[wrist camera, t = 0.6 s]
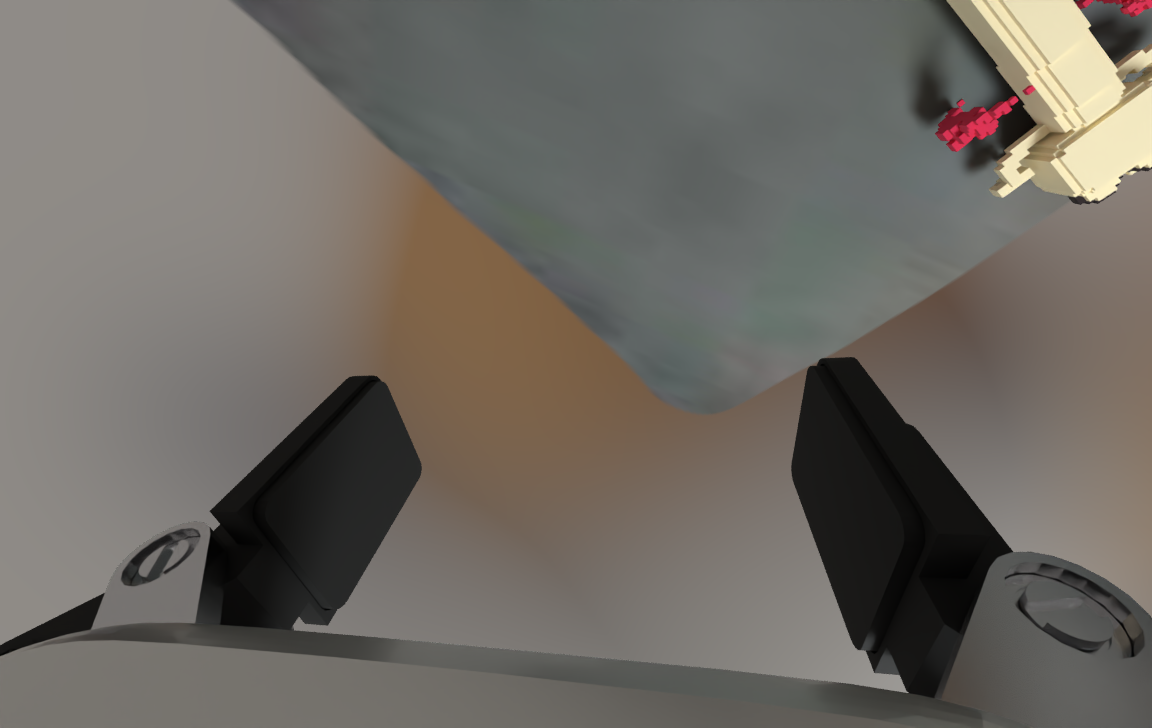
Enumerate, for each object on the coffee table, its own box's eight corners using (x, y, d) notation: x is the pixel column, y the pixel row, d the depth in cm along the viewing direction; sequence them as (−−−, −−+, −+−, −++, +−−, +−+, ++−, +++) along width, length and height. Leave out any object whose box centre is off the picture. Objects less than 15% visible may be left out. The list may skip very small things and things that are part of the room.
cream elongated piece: (773, -40, 26) (1014, 240, 31) (809, -101, 19) (1120, 279, 23) (943, -256, 21) (1202, 114, 26) (1083, -455, 14) (1414, 113, 18)
